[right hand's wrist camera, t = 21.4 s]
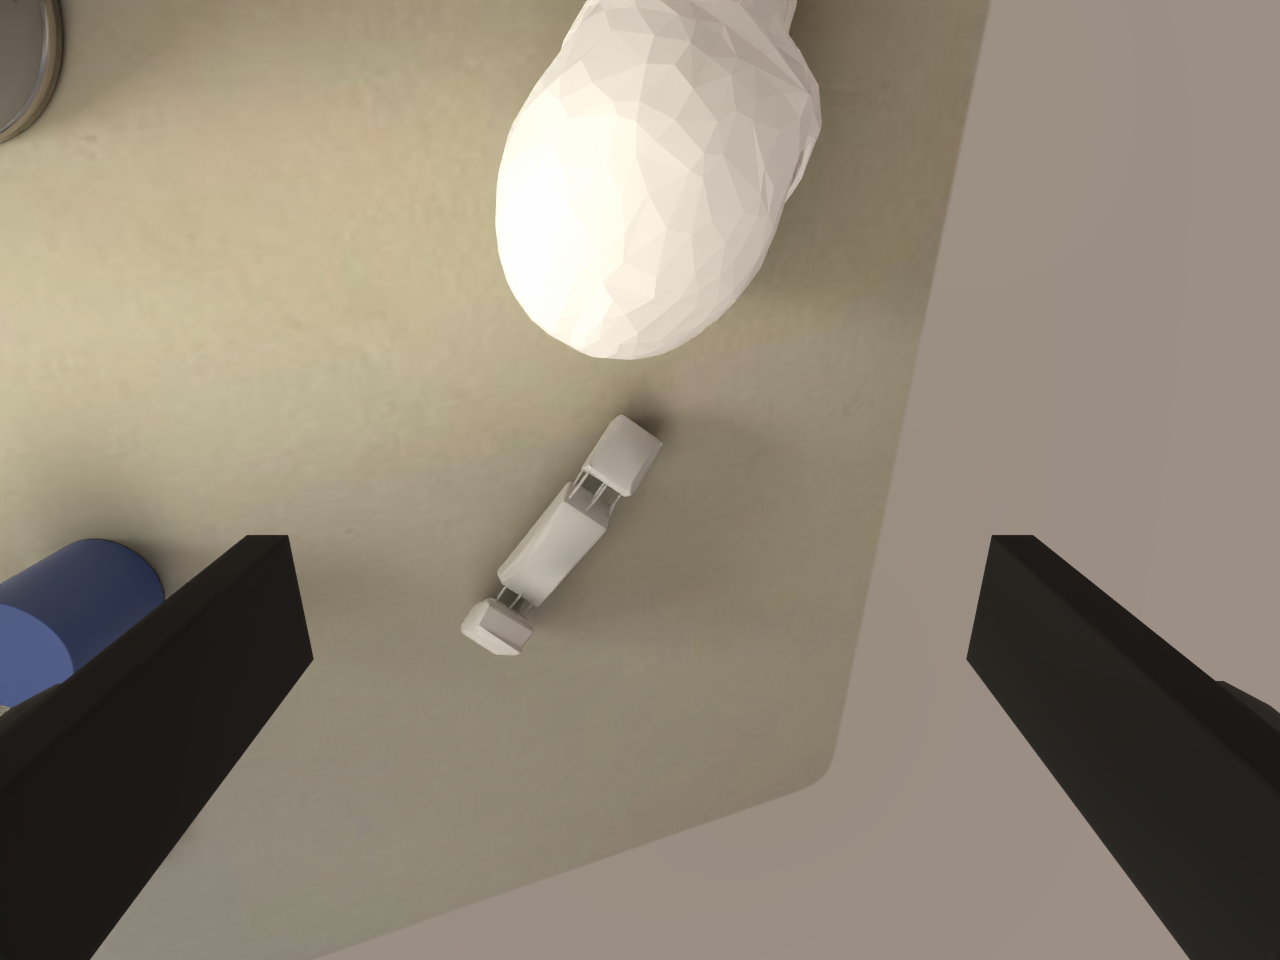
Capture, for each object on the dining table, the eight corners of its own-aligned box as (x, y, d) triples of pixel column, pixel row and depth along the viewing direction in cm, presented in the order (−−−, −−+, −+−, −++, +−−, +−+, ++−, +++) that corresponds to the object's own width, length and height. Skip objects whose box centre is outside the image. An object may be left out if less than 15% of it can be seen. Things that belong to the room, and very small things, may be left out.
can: (120, 650, 52) (24, 729, 44) (30, 578, 50) (-88, 647, 42) (186, 595, 50) (100, 667, 42) (97, 518, 48) (-13, 578, 40)
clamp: (503, 644, 51) (490, 697, 45) (460, 619, 50) (441, 670, 44) (661, 434, 47) (672, 459, 41) (618, 403, 46) (622, 423, 40)
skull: (864, 8, 37) (1001, -142, 22) (686, 369, 44) (698, 439, 29) (644, -117, 35) (630, -368, 20) (496, 279, 43) (406, 305, 28)
